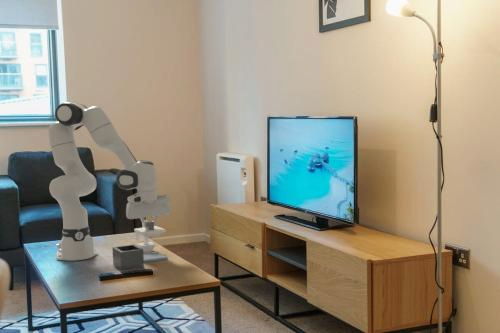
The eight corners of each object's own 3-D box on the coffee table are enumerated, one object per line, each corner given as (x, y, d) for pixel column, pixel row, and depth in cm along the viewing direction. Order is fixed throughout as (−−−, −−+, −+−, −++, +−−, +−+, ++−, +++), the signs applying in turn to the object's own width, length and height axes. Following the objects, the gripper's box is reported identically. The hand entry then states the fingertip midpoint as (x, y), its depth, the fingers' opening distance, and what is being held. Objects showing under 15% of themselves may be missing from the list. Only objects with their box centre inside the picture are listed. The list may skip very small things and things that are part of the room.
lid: (134, 234, 306) (133, 221, 305) (156, 231, 311) (155, 218, 310) (143, 238, 295) (142, 224, 294) (166, 235, 299) (165, 221, 299)
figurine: (134, 251, 319) (133, 220, 318) (153, 249, 323) (152, 218, 321) (138, 254, 312) (137, 222, 311) (157, 251, 316) (156, 220, 315)
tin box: (113, 265, 293) (112, 247, 292) (135, 261, 298) (134, 244, 297) (121, 270, 282) (120, 252, 282) (144, 267, 287) (143, 249, 286)
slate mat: (132, 256, 307) (132, 254, 307) (157, 253, 313) (157, 251, 313) (142, 263, 295) (142, 260, 295) (167, 259, 300) (167, 257, 300)
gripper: (166, 193, 309) (168, 222, 310) (123, 198, 299) (125, 228, 300) (171, 194, 303) (173, 224, 304) (128, 199, 294) (130, 230, 295)
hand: (149, 226), depth 302 cm, fingers closed on lid, 2 cm apart
